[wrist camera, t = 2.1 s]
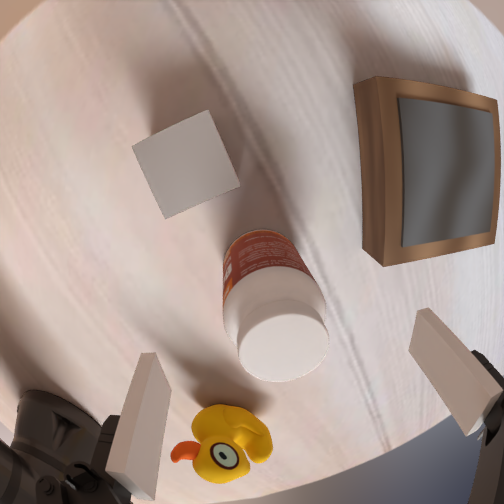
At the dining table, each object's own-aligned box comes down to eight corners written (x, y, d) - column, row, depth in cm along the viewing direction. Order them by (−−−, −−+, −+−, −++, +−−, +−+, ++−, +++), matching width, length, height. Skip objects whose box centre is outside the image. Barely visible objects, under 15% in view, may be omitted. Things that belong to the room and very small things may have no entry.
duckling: (170, 407, 30) (160, 478, 21) (187, 381, 28) (178, 459, 19) (254, 431, 33) (262, 496, 23) (277, 409, 31) (290, 479, 22)
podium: (362, 248, 25) (385, 268, 21) (352, 84, 19) (377, 75, 15) (470, 231, 25) (496, 244, 21) (470, 100, 20) (499, 99, 16)
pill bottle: (213, 238, 23) (204, 317, 13) (289, 218, 23) (337, 281, 13) (234, 304, 25) (241, 402, 15) (303, 285, 25) (346, 373, 15)
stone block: (178, 203, 22) (165, 219, 17) (151, 145, 20) (131, 146, 16) (238, 177, 22) (240, 186, 17) (212, 117, 20) (207, 109, 15)
